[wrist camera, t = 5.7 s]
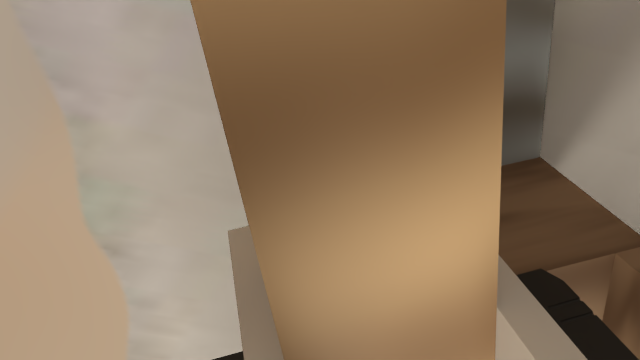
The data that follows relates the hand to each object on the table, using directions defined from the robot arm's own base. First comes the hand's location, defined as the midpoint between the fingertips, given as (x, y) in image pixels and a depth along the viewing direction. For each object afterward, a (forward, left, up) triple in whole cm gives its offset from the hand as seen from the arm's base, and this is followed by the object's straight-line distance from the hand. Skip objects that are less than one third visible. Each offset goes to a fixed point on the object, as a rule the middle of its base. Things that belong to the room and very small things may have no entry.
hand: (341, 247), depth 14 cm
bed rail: (0, 0, 0) cm, 0 cm away
